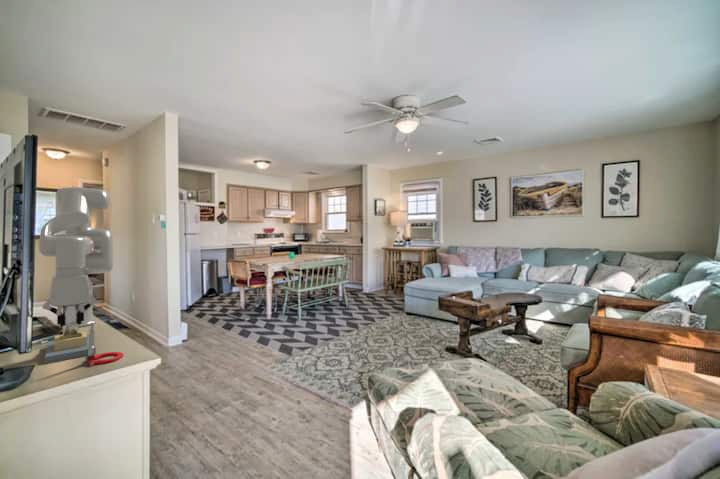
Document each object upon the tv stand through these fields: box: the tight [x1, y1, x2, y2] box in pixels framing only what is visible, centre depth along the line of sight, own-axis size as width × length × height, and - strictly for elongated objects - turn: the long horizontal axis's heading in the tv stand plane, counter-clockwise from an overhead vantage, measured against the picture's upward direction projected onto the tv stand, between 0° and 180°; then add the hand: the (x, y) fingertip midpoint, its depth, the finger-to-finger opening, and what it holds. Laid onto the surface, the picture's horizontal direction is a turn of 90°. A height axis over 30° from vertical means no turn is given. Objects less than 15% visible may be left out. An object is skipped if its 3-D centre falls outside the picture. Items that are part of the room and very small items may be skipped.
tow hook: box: [85, 322, 124, 367], centre depth 101 cm, size 8×13×9 cm
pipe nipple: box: [62, 304, 80, 335], centre depth 108 cm, size 4×4×10 cm
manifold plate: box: [44, 330, 96, 364], centre depth 108 cm, size 18×12×5 cm, turn 44°
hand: (70, 324), depth 108 cm, fingers closed on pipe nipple, 4 cm apart
